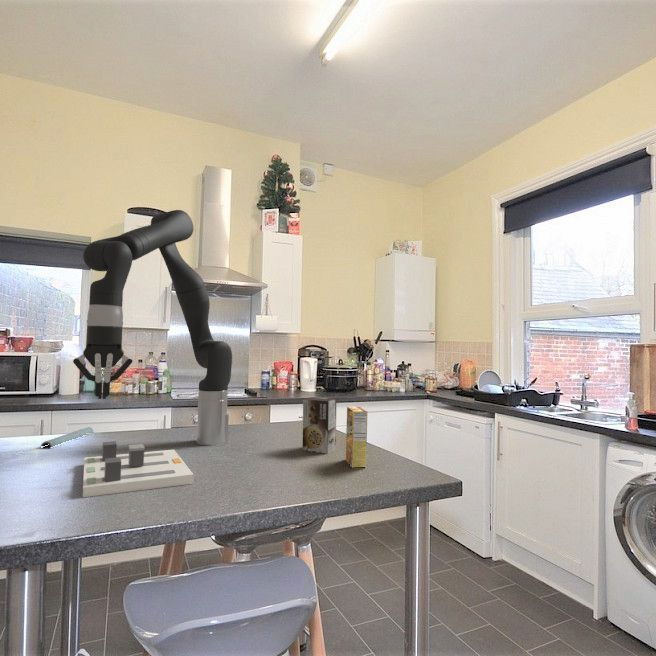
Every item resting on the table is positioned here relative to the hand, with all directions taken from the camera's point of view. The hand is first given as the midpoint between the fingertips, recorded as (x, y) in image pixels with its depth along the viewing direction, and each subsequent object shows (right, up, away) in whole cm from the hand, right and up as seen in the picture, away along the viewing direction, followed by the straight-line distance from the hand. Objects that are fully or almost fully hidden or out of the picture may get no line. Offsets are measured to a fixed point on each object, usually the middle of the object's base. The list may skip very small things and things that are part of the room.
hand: (101, 398), depth 102 cm
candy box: (+61, -21, +18) cm, 67 cm away
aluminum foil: (-31, -21, +35) cm, 51 cm away
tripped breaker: (+7, -17, +3) cm, 18 cm away
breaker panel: (+7, -19, +3) cm, 21 cm away
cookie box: (+50, -22, +33) cm, 64 cm away
